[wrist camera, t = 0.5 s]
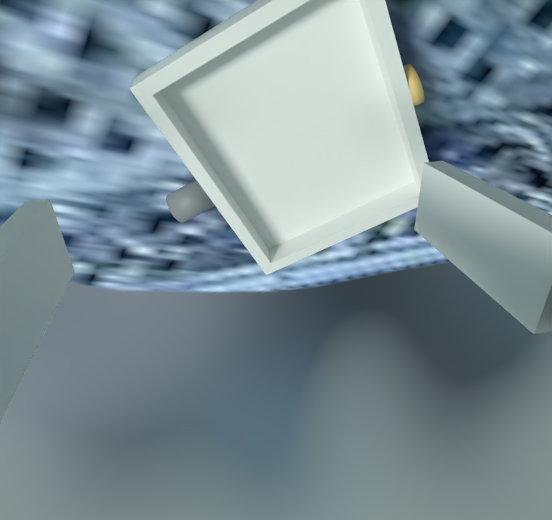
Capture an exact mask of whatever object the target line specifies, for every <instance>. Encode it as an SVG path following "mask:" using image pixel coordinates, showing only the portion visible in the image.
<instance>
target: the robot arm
mask: <svg viewBox="0 0 552 520" xmlns="http://www.w3.org/2000/svg"><path fill="white" fill-rule="evenodd" d="M414 230H415V231H416V232H418V233H419V234H420V235H421V236H422V237H423V238H424V239H426V240H427V241H428V242H429V243H430V244H431V245H432V246H434V247H435V248H436V249H437V250H438V251H439V252H440V253H442V254H443V255H444V256H445V257H446V258H447V259H449V260H450V261H451V262H452V263H453V264H454V265H455V266H457V267H458V268H459V269H460V270H461V271H462V272H463V273H465V274H466V275H467V276H468V277H469V278H470V279H471V280H473V281H474V282H475V283H476V284H477V285H478V286H480V287H481V288H482V289H483V290H484V291H485V292H486V293H487V294H489V295H490V296H491V297H492V298H493V299H494V300H496V301H497V302H498V303H499V304H500V305H501V306H502V307H504V308H505V309H506V310H507V311H508V312H509V313H510V314H512V315H513V316H514V317H515V318H516V319H517V320H518V321H520V322H521V323H522V324H523V325H524V326H525V327H526V328H528V329H529V330H530V331H531V332H532V333H533V334H538V333H544V332H549V331H552V215H551V214H549V213H547V212H545V211H543V210H541V209H539V208H537V207H535V206H533V205H531V204H529V203H527V202H525V201H523V200H521V199H519V198H517V197H515V196H513V195H511V194H509V193H507V192H505V191H503V190H501V189H499V188H497V187H495V186H493V185H491V184H489V183H487V182H485V181H483V180H481V179H479V178H477V177H475V176H473V175H471V174H469V173H467V172H464V171H462V170H460V169H458V168H456V167H454V166H452V165H450V164H448V163H446V162H444V161H435V162H425V163H424V165H423V172H422V179H421V186H420V193H419V201H418V208H417V215H416V222H415V229H414ZM73 274H74V269H73V266H72V263H71V260H70V257H69V254H68V251H67V248H66V245H65V242H64V239H63V236H62V233H61V230H60V227H59V224H58V222H57V219H56V216H55V213H54V210H53V207H52V204H51V201H50V200H41V201H31V202H25V203H24V204H23V205H22V206H21V207H20V208H19V209H18V210H17V211H16V212H15V213H14V214H13V215H12V216H11V217H10V218H9V219H8V220H7V221H6V222H5V223H4V224H3V225H2V226H1V227H0V422H1V420H2V417H3V416H4V413H5V411H6V409H7V407H8V405H9V403H10V401H11V399H12V397H13V395H14V393H15V391H16V389H17V387H18V385H19V383H20V381H21V379H22V377H23V375H24V373H25V371H26V369H27V367H28V365H29V363H30V361H31V359H32V357H33V355H34V353H35V351H36V349H37V347H38V344H39V342H40V341H41V338H42V336H43V334H44V332H45V330H46V328H47V326H48V324H49V322H50V320H51V318H52V316H53V314H54V312H55V310H56V308H57V306H58V304H59V302H60V300H61V298H62V296H63V294H64V292H65V290H66V288H67V286H68V284H69V282H70V280H71V278H72V276H73Z"/></svg>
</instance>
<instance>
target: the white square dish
mask: <svg viewBox="0 0 552 520" xmlns="http://www.w3.org/2000/svg"><path fill="white" fill-rule="evenodd" d="M130 90H131V91H132V93H133V94H134V96H135V97H136V98H137V100H138V101H139V102H140V104H141V105H142V106H143V108H144V109H145V110H146V112H147V113H148V115H149V116H150V117H151V119H152V120H153V121H154V123H155V124H156V125H157V127H158V128H159V130H160V131H161V132H162V134H163V135H164V136H165V138H166V139H167V140H168V142H169V143H170V145H171V146H172V147H173V149H174V150H175V151H176V153H177V154H178V155H179V157H180V158H181V160H182V161H183V162H184V164H185V165H186V166H187V168H188V169H189V170H190V172H191V173H192V175H193V176H194V177H195V179H196V180H195V181H193V182H191V183H190V184H188V185H186V186H184V187H182V188H180V189H178V190H176V191H175V192H173V193H171V194H169V195H167V197H166V201H167V205H168V207H169V210H170V211H171V213H172V215H173V216H174V217H175V218H176V219H177V220H178V221H179V222H181V223H183V222H185V221H187V220H189V219H191V218H193V217H195V216H197V215H199V214H201V213H203V212H205V211H207V210H209V209H211V208H213V207H215V206H216V207H217V209H218V210H219V211H220V213H221V214H222V215H223V217H224V218H225V220H226V221H227V222H228V224H229V225H230V226H231V228H232V229H233V230H234V232H235V233H236V235H237V236H238V237H239V239H240V240H241V241H242V243H243V244H244V245H245V247H246V248H247V249H248V251H249V252H250V254H251V255H252V256H253V258H254V259H255V260H256V262H257V263H258V264H259V266H260V267H261V269H262V270H263V271H264V273H265V274H266V275H267V274H269V273H272V272H274V271H276V270H278V269H281V268H283V267H285V266H287V265H289V264H292V263H294V262H296V261H298V260H301V259H303V258H305V257H307V256H309V255H312V254H314V253H316V252H318V251H321V250H323V249H325V248H327V247H329V246H332V245H334V244H336V243H338V242H341V241H343V240H345V239H347V238H350V237H352V236H354V235H356V234H358V233H361V232H363V231H365V230H367V229H370V228H372V227H374V226H376V225H378V224H381V223H383V222H385V221H387V220H390V219H392V218H394V217H396V216H398V215H401V214H403V213H405V212H407V211H410V210H412V209H414V208H416V207H418V201H419V193H420V186H421V179H422V172H423V165H424V163H425V162H429V160H428V157H427V153H426V149H425V146H424V142H423V138H422V135H421V131H420V127H419V124H418V120H417V116H416V113H415V109H414V107H415V106H417V105H419V104H421V103H423V102H424V92H423V88H422V84H421V82H420V79H419V77H418V75H417V73H416V71H415V69H414V68H413V66H412V65H410V64H407V65H405V66H403V65H402V61H401V57H400V53H399V50H398V46H397V42H396V39H395V35H394V31H393V28H392V24H391V20H390V17H389V13H388V9H387V6H386V2H385V0H257V1H256V2H254V3H252V4H251V5H249V6H248V7H246V8H244V9H243V10H241V11H240V12H238V13H236V14H235V15H233V16H232V17H230V18H228V19H227V20H225V21H224V22H222V23H220V24H219V25H217V26H215V27H214V28H212V29H211V30H209V31H207V32H206V33H204V34H203V35H201V36H199V37H198V38H196V39H195V40H193V41H191V42H190V43H188V44H187V45H185V46H183V47H182V48H180V49H179V50H177V51H175V52H174V53H172V54H171V55H169V56H167V57H166V58H164V59H163V60H161V61H159V62H158V63H156V64H155V65H153V66H151V67H150V68H148V69H147V70H145V71H143V72H142V73H140V74H138V75H137V76H136V78H135V80H134V82H133V83H132V85H131V87H130Z"/></svg>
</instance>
